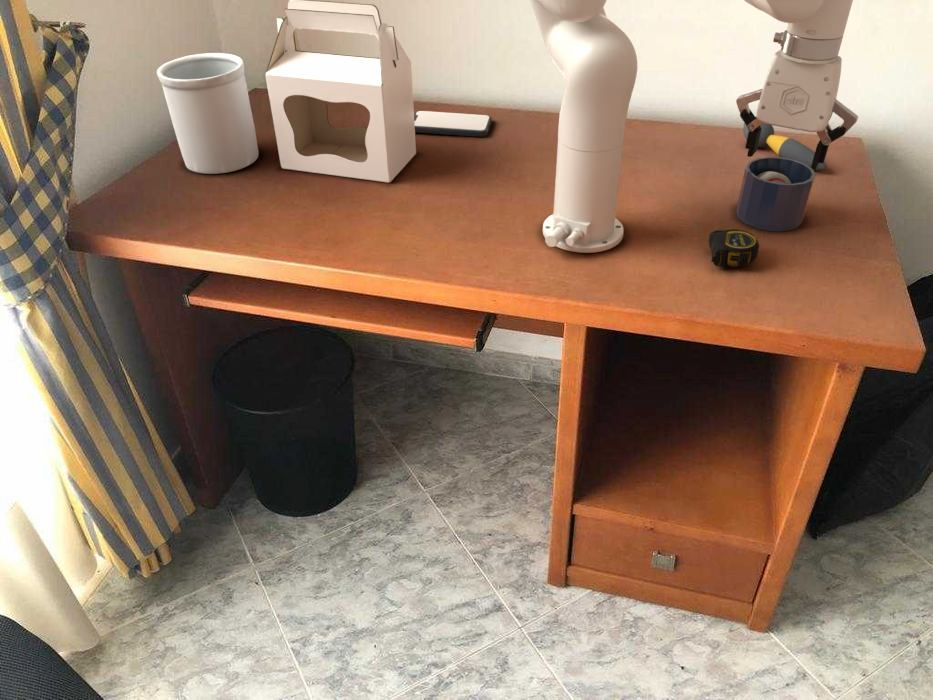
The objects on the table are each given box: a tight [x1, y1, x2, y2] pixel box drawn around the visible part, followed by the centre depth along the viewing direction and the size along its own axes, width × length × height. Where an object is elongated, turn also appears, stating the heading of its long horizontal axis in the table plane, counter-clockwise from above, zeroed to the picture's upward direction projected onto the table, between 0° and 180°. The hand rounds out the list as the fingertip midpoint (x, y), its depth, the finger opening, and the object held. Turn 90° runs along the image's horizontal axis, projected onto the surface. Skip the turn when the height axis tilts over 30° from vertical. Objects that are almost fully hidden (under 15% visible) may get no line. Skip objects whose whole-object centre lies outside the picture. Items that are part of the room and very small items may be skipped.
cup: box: [735, 156, 816, 232], centre depth 124 cm, size 10×10×8 cm
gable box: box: [264, 0, 417, 184], centre depth 137 cm, size 22×13×28 cm, turn 72°
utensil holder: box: [156, 52, 259, 175], centre depth 142 cm, size 15×15×18 cm
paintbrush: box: [742, 122, 828, 171], centre depth 144 cm, size 20×5×5 cm, turn 38°
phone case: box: [414, 110, 493, 138], centre depth 158 cm, size 9×2×16 cm
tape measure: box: [708, 228, 760, 268], centre depth 115 cm, size 7×7×4 cm
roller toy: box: [757, 171, 791, 184], centre depth 125 cm, size 4×6×6 cm
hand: (782, 159), depth 121 cm, fingers open, 9 cm apart
